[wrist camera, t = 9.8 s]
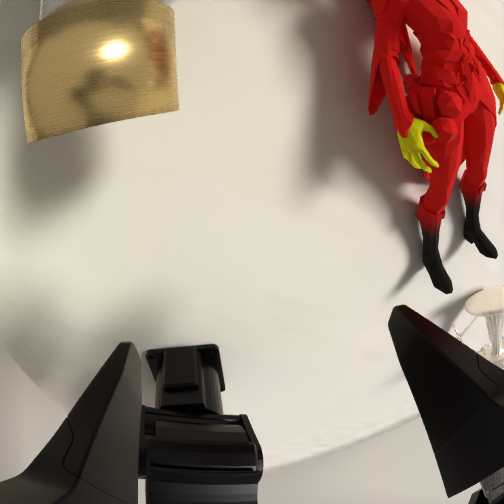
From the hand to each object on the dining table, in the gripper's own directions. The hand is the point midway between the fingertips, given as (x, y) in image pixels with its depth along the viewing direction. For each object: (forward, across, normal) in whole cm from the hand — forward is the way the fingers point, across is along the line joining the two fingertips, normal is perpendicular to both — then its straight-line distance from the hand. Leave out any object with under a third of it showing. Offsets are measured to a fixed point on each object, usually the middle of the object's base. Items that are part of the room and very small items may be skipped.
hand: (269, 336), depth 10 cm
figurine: (+14, -14, -6) cm, 21 cm away
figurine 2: (+12, -28, +16) cm, 35 cm away
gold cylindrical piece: (+8, +5, -10) cm, 14 cm away
